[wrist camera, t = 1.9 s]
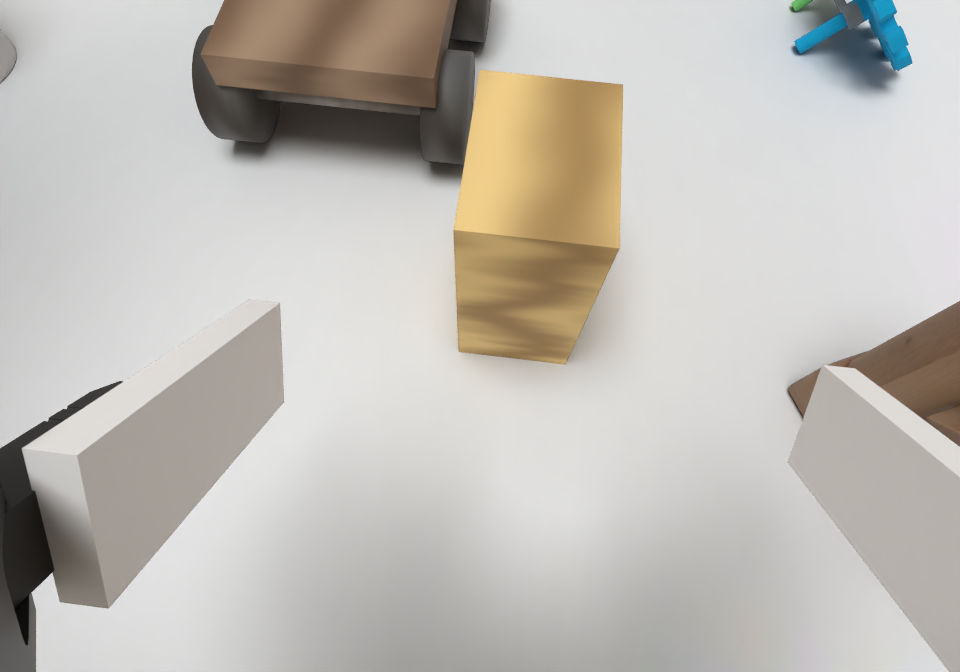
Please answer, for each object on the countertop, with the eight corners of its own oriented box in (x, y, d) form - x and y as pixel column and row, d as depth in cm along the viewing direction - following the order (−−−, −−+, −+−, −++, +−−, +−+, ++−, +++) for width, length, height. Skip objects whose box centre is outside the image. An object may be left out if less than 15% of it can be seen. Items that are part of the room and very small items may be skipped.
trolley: (226, 160, 36) (168, 60, 29) (293, -18, 43) (259, -133, 36) (461, 186, 35) (460, 91, 28) (491, 2, 42) (496, -111, 35)
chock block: (458, 351, 31) (453, 229, 20) (476, 230, 34) (480, 67, 23) (565, 364, 31) (619, 248, 20) (572, 240, 34) (623, 81, 23)
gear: (934, 87, 37) (900, -32, 31) (836, 135, 41) (789, 36, 35) (881, -1, 43) (844, -116, 37) (799, 48, 47) (753, -50, 41)
